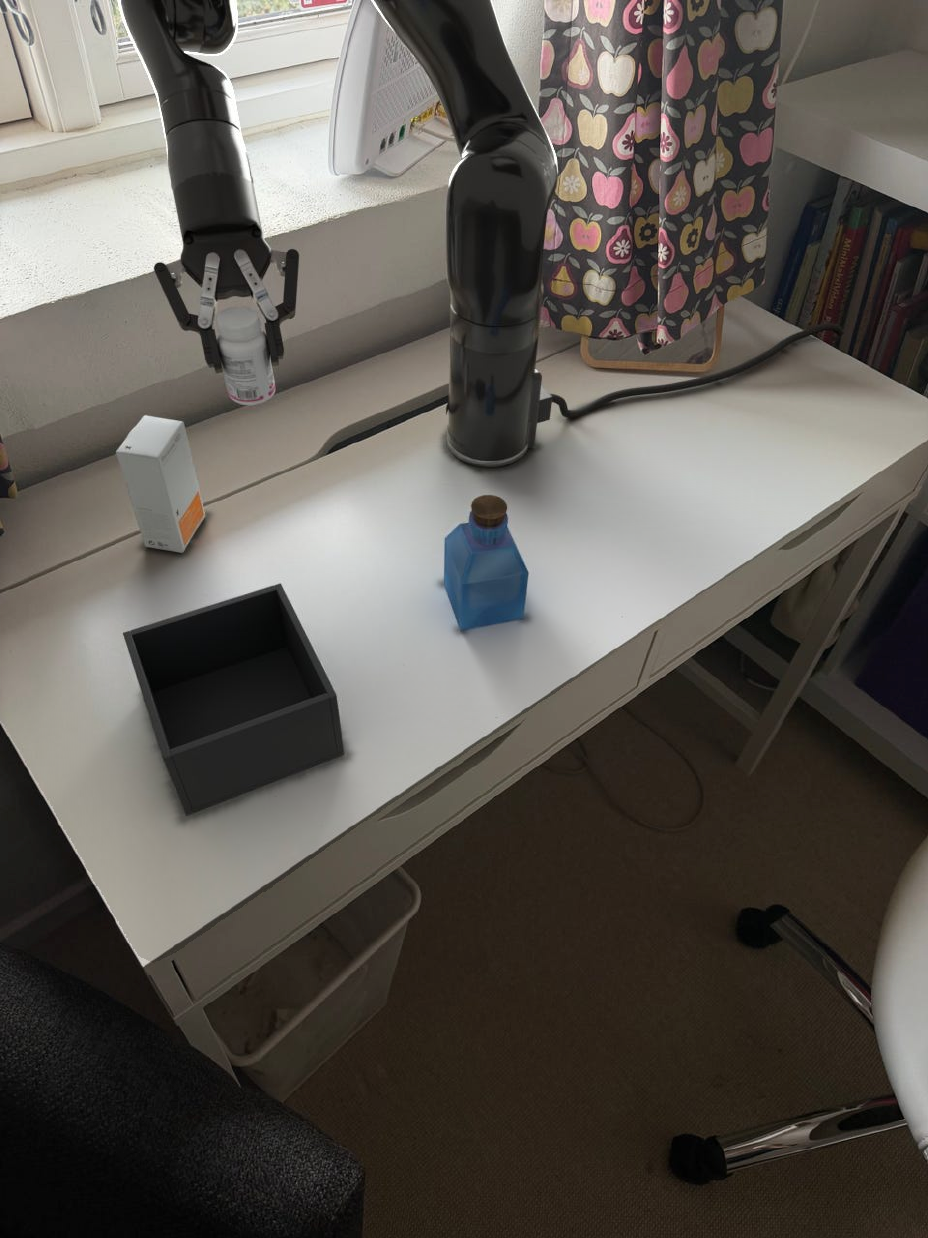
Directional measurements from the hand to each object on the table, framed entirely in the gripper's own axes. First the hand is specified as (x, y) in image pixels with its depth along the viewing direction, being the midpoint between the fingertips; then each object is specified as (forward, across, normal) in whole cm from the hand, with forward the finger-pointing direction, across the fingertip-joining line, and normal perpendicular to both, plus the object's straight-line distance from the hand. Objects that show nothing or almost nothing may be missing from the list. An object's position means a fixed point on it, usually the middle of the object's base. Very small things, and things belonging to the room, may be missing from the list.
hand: (247, 366), depth 85 cm
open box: (+32, -6, -12) cm, 35 cm away
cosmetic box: (+14, -10, +7) cm, 19 cm away
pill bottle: (+2, 0, +4) cm, 5 cm away
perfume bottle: (+26, +18, -5) cm, 32 cm away
